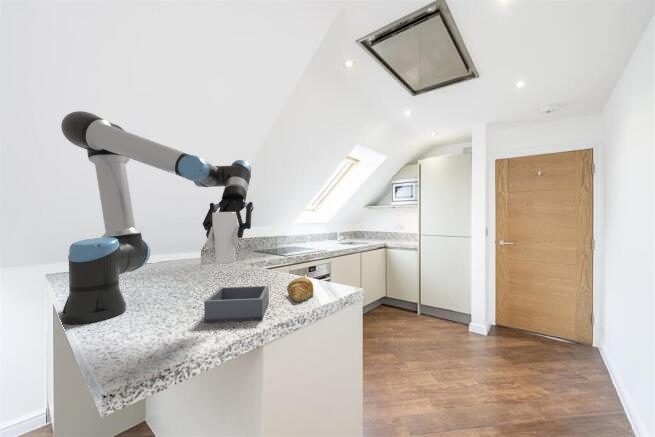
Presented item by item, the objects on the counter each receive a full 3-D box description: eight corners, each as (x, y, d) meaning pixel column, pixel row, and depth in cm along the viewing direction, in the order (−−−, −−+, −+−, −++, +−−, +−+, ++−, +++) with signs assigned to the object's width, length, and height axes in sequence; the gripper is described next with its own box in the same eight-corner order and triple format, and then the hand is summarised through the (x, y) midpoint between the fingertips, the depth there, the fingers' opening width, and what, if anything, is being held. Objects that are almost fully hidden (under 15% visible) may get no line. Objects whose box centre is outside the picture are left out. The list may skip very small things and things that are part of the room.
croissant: (304, 314, 93) (315, 293, 93) (278, 300, 93) (289, 279, 93) (310, 295, 114) (319, 278, 114) (289, 284, 115) (298, 267, 114)
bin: (204, 322, 77) (204, 301, 77) (220, 305, 93) (220, 287, 93) (262, 320, 78) (262, 299, 78) (268, 303, 94) (268, 285, 94)
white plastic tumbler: (208, 264, 78) (207, 212, 78) (222, 260, 85) (220, 212, 85) (230, 264, 77) (228, 211, 77) (242, 260, 84) (240, 212, 84)
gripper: (265, 200, 97) (258, 252, 81) (209, 201, 96) (190, 255, 80) (262, 183, 92) (254, 236, 75) (203, 185, 90) (181, 238, 74)
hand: (221, 245), depth 78 cm, fingers closed on white plastic tumbler, 6 cm apart
